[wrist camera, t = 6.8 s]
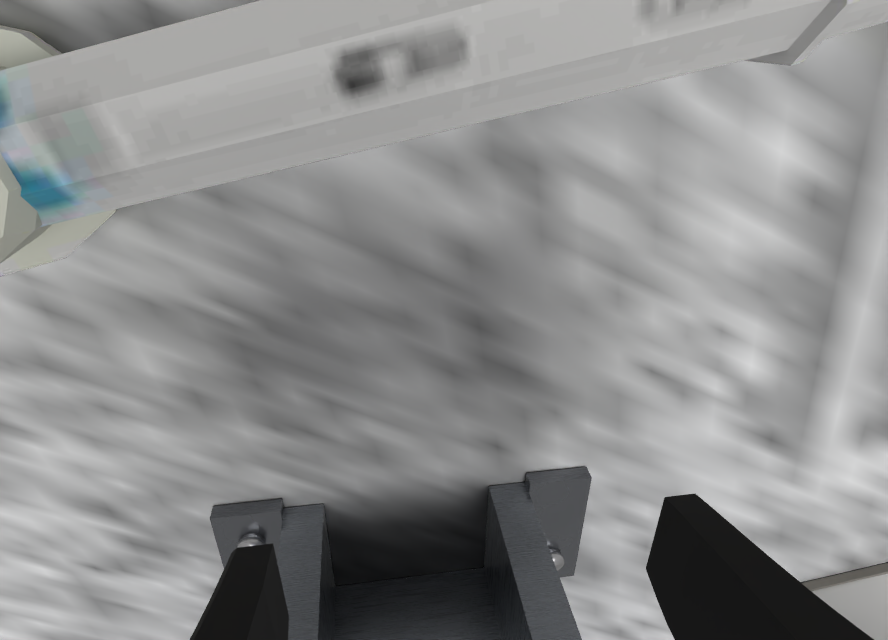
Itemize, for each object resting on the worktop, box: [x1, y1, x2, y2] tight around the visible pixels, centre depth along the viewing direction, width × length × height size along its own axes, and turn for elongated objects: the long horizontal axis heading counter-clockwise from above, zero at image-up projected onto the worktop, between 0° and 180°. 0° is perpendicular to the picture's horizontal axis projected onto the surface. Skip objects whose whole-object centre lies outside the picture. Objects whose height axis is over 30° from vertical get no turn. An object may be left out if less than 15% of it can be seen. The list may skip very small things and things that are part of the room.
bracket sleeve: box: [210, 467, 592, 640], centre depth 21 cm, size 6×14×8 cm, turn 90°
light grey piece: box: [0, 0, 888, 277], centre depth 13 cm, size 5×7×25 cm
